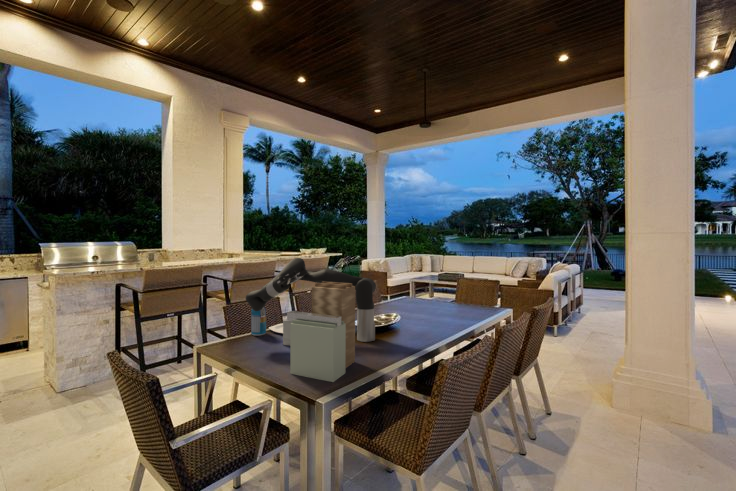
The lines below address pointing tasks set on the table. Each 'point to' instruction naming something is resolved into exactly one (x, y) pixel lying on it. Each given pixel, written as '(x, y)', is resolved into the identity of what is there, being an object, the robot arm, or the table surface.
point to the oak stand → (338, 309)
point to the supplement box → (286, 332)
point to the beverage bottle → (258, 322)
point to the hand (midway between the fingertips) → (301, 271)
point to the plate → (277, 328)
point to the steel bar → (314, 317)
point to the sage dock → (317, 350)
